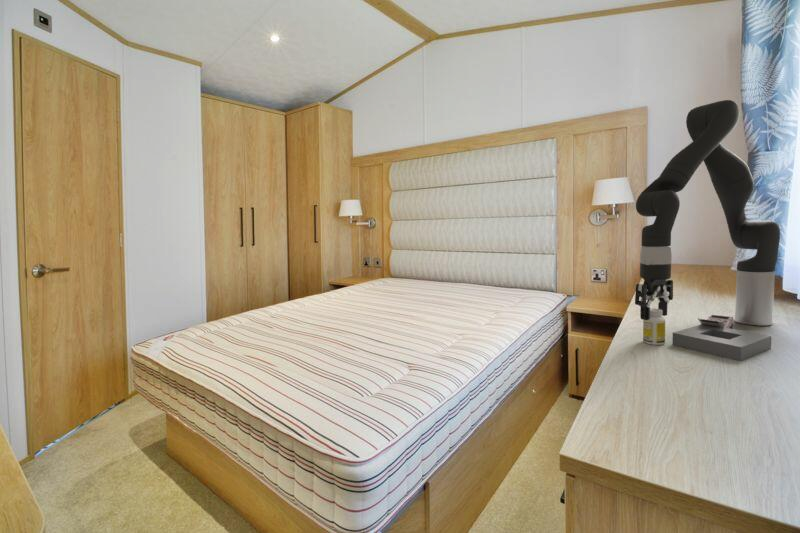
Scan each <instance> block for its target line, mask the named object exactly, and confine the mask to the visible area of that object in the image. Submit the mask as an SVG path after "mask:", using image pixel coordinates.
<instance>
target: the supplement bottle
mask: <svg viewBox="0 0 800 533" xmlns="http://www.w3.org/2000/svg"><path fill="white" fill-rule="evenodd" d="M662 314H663V311H662V310H661V309H658V308H651V307H650V319H649V320H643V319H642V320H643V324H642V325H643V326H642V329H643V330H642V331H643V332H642V333H643V335H642V337H643V338H642V339H643V340H642V341H643V343H645V344H646V345H647V344H648V345H653V346H662V345H664V344H665V343H666V319H665V318H664V316H662Z"/></svg>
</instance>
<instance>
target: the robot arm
mask: <svg viewBox="0 0 800 533" xmlns="http://www.w3.org/2000/svg"><path fill="white" fill-rule="evenodd" d="M739 119H740V108H739V105H738V104H737V102H735V101H734V100H731V99H725V100H719V101H716V102H715V101H714V102H711V103H707V104H703V105H699V106H696V107H694V108H691V110H689V111H688V113H687V115H686V121H685V123H686V124H685V125H686V128H687V132H688V135H689V137H690V139H691V140H692V141H691V142H690V143H689V144H688V145H686V146H685V147H684V148H682V149H681V150H680V151H679V152H677V153H676V154H675V155H674V156H673V157H672V158H671V159H670V160H669V161H668V163H667V164H666V166H665V167H664V169H663V170H662V172H661V173H660V174H659V176H658V177H657V178H656V179H655V180H653V181H652V182H651V183H650V184H649V185H648V186H647V187H646V188H645V189H643V191H641V193H640V194H639V196H637V199H636V202H635V211H636V213H638V215H640V216H641V217H649V218H650V217H651V218H652V217H655V218H654V222H652V224H648V225H646V226H643V227H642V230H641V243H640V244H641V246H640V247H641V248H640V254H639V256H640V257H639V278H641V279H643V284H642V283H637V284H636V285H635V296H634V297H635V298H634V304H635V305H637V306H639V307H640V310H639V311H640V314H639V316H640V319H641V320H649V319H650V308H651V307H650V306H651V304H652V302H654V301H655V299H656V298H657V301H658V306H657V309H661V310H662V311H663V314H662V316H661V317H665V316H668V304H669V303H670V301H673V300H674V280H672V279H671V277H672V245H671V244H672V230H673V227H674V226H675V222H676V220H677V215H678V214H679V210H680V204H681V202H680V198H679V196H678V194H677V193H678V192H681V191H683V189H684V188H685V187H686V186H687V184H688V183H689V181H690V180H691V179H692V177H693V176H694V174H695V172H696V171H697V169H698V168H699V167H700V166H701V164H702V163H703V162H704V165H705V167H706V170H707V171H708V175H709V177H710V181H711V183H712V186H713V188H714V191H715V193H716V195H717V197H718V200H719V203H720V204H721V208H722V210H723V214H724V216H725V220H726V224H727V227H728V232H729V236H730V239H731V241H732V243H733V245H734V247H736V248H737V249H742V250H756V253H755V255H754V256H752V257H750V258H746V259H742V260H739V261H738V262H737V264H736V276H735V278H736V279H735V281H736V282H735V284H736V285H735V303H734V305H735V306H734V321H735V322H736V323H739V324H743V325H750V326H765V327H766V326H771V325H773V314H774V296H775V280H776V279H775V274H776V266H777V264H778V263H777V262H778V258H779V248H780V247H779V246H780V239H781V230H780V228H781V227H780V225H779V224H778V223H777V222H776V221H775V220H749V219H748V218H747V216H746V213H745V209H746V205H747V203H748V202H749V199H750V198H751V196H752V194H753V193H754V192H753V191H754V188H755V182H754V178H753V175H752V173H751V170H750V167H749V166H748V164H747V163H746V162H745V161H744V160H743V158H740V157H739V156H738V155H737V154H735V153H733V151H731V150H729V149H728V148H726V147H725V146H724V145H723V144H722V143H721V142H723V140H724V139H725V138H727V136H728V135H729V134H731V132H732V131H733V130H734V128H736V126H737V124H738V122H739Z"/></svg>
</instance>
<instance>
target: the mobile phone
mask: <svg viewBox="0 0 800 533" xmlns="http://www.w3.org/2000/svg"><path fill="white" fill-rule="evenodd" d="M697 320H698V321H699V323H700V325H701V324H705V325H713V326H719V327H725V328H730V329H731V326H732V325H733V323H734V317H733V316H730V315H729V316H727V315H722V314H720V315H719V314H710V316H708V317H707V319H704V318H699V317H698V318H697Z"/></svg>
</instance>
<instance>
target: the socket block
mask: <svg viewBox="0 0 800 533" xmlns="http://www.w3.org/2000/svg"><path fill="white" fill-rule="evenodd" d="M672 346H677V347H680V348H685V349H689V350H692V351H693V350H694V351H697V352H702V353H705V352H706V354H710V355H714V354H715V355H716V356H718V355H719V357H722V356H723V358H728V359H731V360H736V361H740V362H742V361H744V360H747V359H749V358H752V357H754V356H756V355H759V354H762V353H764V352H766V351H768V350H771V349H772V335H768V334H764V333H757V332H752V331H746V330H741V329H735V328H731V327H730V328H725V327H719V326H713V325H705V324H701V323H700V324H698V325H694V326H692V327H690V326H689V327H688V328H684V329H680V330H677V331H674V332H672ZM763 351H764V352H763ZM715 355H714V356H715ZM751 356H752V357H751Z"/></svg>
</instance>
